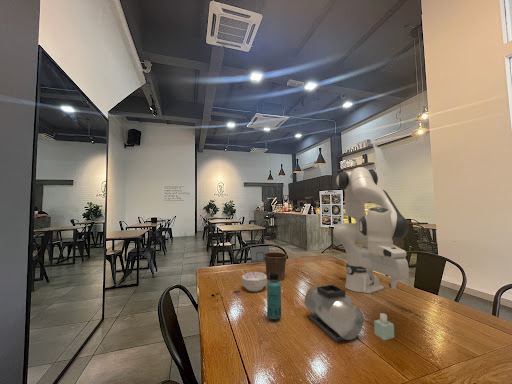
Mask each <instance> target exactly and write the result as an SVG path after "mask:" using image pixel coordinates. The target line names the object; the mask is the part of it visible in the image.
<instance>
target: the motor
mask: <svg viewBox="0 0 512 384" xmlns="http://www.w3.org/2000/svg"><path fill="white" fill-rule="evenodd" d="M304 303H305V304H304V305H305V307H306V309H307V310H308V311H309V312H310V313H312V314H309V319H310V320H311V321H312V322H313V323H314V324H316V326H318V327H319V328H320V329H321V330H322V331H324V332H325V334H327V335H328V336H329V337H330V338H331V339H332V340H334V342H336V343H339V342H342V341H345V340H347V341H348V340H349V341H350V340H354V339H355V338H357V337H359V334H360V333H361V332H362V329H363V326H364V316H363V313H362V311H361V309H360V308H358V306H356V305H354V304H352V296H351V295H349V294H346V290H345V289H343V288H341V287H339V286H336V285H335V284H328V285H327V284H325V285H322V286H321V285H314V286H312V287H310V288H309V289H308V290H307V292H306V294H305V297H304Z"/></svg>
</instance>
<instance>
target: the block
mask: <svg viewBox="0 0 512 384" xmlns="http://www.w3.org/2000/svg"><path fill="white" fill-rule="evenodd" d="M373 325H374V327H373V328H374V329H373V330H374V335H375V336H377V337H379V338H380V339H381V340H383V341H387V340H391V339H394V338H395V325H394V323H392V322H391V321H389V320H388V315H387V313H384V312H380V313H379V319H377V320H376V319H375V320H373Z"/></svg>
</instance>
